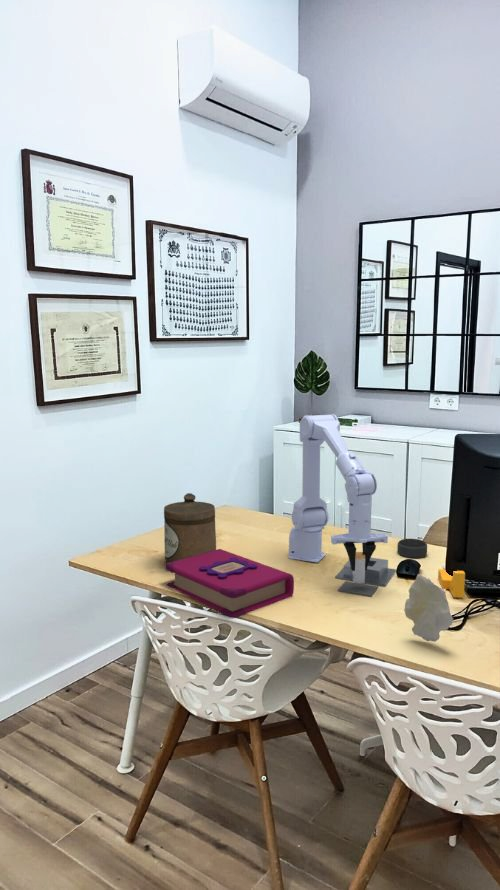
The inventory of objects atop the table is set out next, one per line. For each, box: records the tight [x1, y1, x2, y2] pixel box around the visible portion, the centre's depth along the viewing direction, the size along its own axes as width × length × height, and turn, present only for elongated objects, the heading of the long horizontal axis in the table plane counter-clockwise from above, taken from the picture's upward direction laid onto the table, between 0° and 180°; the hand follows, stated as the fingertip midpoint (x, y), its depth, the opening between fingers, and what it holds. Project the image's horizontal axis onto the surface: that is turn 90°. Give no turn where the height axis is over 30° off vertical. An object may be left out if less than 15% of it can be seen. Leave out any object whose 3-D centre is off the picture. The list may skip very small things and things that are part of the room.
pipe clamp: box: [437, 559, 466, 598], centre depth 172 cm, size 12×4×6 cm, turn 174°
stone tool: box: [404, 573, 454, 643], centre depth 141 cm, size 11×4×15 cm, turn 51°
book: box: [165, 548, 295, 618], centre depth 169 cm, size 21×28×8 cm
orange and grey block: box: [352, 551, 365, 584], centre depth 170 cm, size 3×3×8 cm
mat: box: [337, 580, 379, 598], centre depth 171 cm, size 9×7×1 cm
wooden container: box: [163, 492, 217, 567], centre depth 186 cm, size 15×15×22 cm
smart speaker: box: [397, 538, 428, 559], centre depth 200 cm, size 9×9×4 cm
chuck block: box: [334, 557, 397, 587], centre depth 182 cm, size 14×13×4 cm
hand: (358, 569), depth 171 cm, fingers closed on orange and grey block, 2 cm apart
